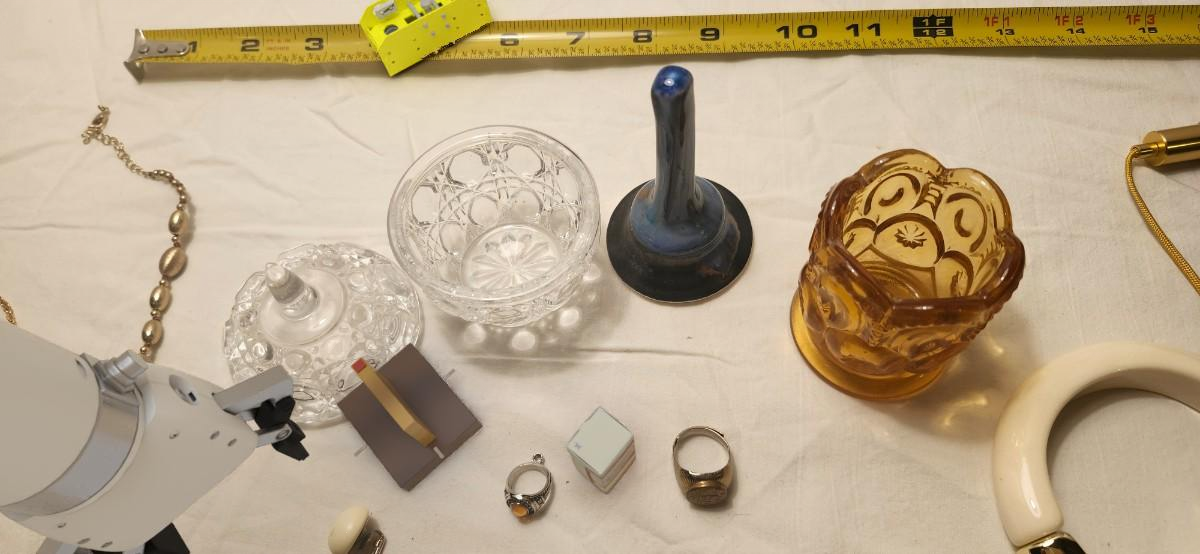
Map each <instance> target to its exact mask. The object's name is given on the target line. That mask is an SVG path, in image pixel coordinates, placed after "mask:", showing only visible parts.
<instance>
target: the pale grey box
mask: <svg viewBox="0 0 1200 554" xmlns="http://www.w3.org/2000/svg"><path fill="white" fill-rule="evenodd" d="M565 448H566V449H567V452H568V455H569V456H570V458H571V461H572V463H573V465H574V467H575V469H576V470H577V471H578V472H579V473H580V474H581V475H582V476H583V477H584V478H585V479H586V480H588V482H590V483H591V484H592V485H593V486H595V487H596V488H597V489H598V490H599V491H601V492H602V493H603V494H605V495H608V494H609V493H610V492H611V491H612V490H613V488H614V487H615V486H616V485H617V484H618V482H619V481H621V479H622V478H623V476H624V475H625V474H626V473H627V471H628V470H629V469H630V467H631V466H632V465H633V464H634V462H635V460H636V458H637V454H636V446H635V436H634V433H633V432H632V430H630V429H629V428H628V427H627V426H626V425H625V424H624V423H622V422H621V421H620V420H619V419H618V418H617V417H615V416H614V415H613V414H612V413H611V412H610V411H608V410H607V409H606V408H605V407H603V406H602V405H598V406H597V407H596V408H595V409H594V411H592V412H591V414H590V415H589V416H588V417H587V418H586V419H585V421H584V422H583V423H582V424H581V425H580V426H579V428H578V429H577V430H576V431H575V433H574V434H573V435H572V437H570V439H569V440H568V442H567V443H565Z"/></svg>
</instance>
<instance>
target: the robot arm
mask: <svg viewBox="0 0 1200 554" xmlns="http://www.w3.org/2000/svg"><path fill="white" fill-rule="evenodd" d="M294 389H295V388H294V379H293V378H292V376H291V375H290V374H289V373H288V371H287V369H286V368H285V367H284V366H283V365H281V364H279V365H276V366H273V367H270V368H269V369H267V370H264V371H262V372H260V373H257V374H256V375H254V376H251V377H249V378H247V379H245V380H243V381H241V382H239V383H236V384H234V385H232V386H230V387H228V388H226V389H225V388H224V387H222V386H220V385H217V384H215V383H213V382H211V381H208V380H207V379H205V378H201V377H199V376H196V375H193V374H191V373H187V372H185V371H182V370H179V369H176V368H173V367H169V366H165V365H162V364H157V363H153V362H149V361H148V362H147V361H145V360H144V358H143V357H142V356H141V355H140V354H139V353H138V352H136V351H135V350H133V349H130V348H128V349H127V350H125V351H124V352H122V353H121V354H120V355H119V356H117V357H116V356H113V357H112V358H110V359H99V358H97V357H94V356H92V355H90V354H88V353H86V352H82V353H81V354H78V353H76V352H75V351H72V350H70V349H68V348H65V347H63V346H61V345H59V344H57V343H55V342H52V341H50V340H48V339H46V338H44V337H42V336H39V335H37V334H35V333H33V332H31V331H29V330H27V329H24V328H22V327H20V326H18V325H16V324H13V323H12V322H9V321H7V320H5V319H2V318H0V514H2V515H3V516H4V517H5V518H7V519H9V520H11V521H13V522H14V523H16V524H17V525H20V526H21V527H24V528H26V529H27V530H30V531H31V532H34V533H36V534H38V535H40V536H42V537H43V536H44V537H45V538H44V540H43V542H42V543H41V545H40V546H39V548H38V549H37V550H36V552H35V554H191V550H190V548H189V547H188V545H187V543H186V542H185V540H184V538H183V537H182V535H181V534H180V532H179V531H178V529H177V528H176V526H175V524H174V521H176V520H177V518H179V517H180V516H181V515H182V514H184V513H185V512H186V511H187V510H189V509H190V508H192V506H193V505H195V504H196V503H198V502H199V501H200V500H201V499H202V498H203V497H204V496H206V495H207V494H208V493H209V492H210V491H212V490H213V489H214V488H215V487H216V486H217V485H219V484H220V483H222V481H224V480H225V479H226V478H227V477H228V476H230V475H231V474H232V473H233V472H235V470H237V469H238V468H239V467H240V466H241V465H242V464H243V463H245V462H246V461H247V460H248V459H249V458H250V456H251V455H252V454H253V453H254V452H255V450H256V449H259V448H261V447H262V448H263V447H265V446H269V445H271V447H272V449H274V450H275V452H278V453H280V454H282V455H285V456H287V457H289V458H291V459H293V460H296V461H298V462H301V461H305V460H306V459H307V458H309V457H310V453H309V452H308V450H307V449H306V448H305V446H304V445H303V444H302V441H303V440H304V439H305V438H306V436H307V435H306V434H305V432H304V431H303V430H302V429H301V427H300V426H299V425H298V424H297V423H296V422H295V421H294V420H292V419H291V417H292V414H293V411H294V409H295V407H296V404H297V403H296V400H295V399H294V392H295V391H294ZM251 421H254V422H255V424H256V426H257V427H258V428H259V429H255V430H254V429H252V426H250V424H248V423H247V422H251Z"/></svg>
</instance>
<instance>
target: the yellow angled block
mask: <svg viewBox="0 0 1200 554" xmlns="http://www.w3.org/2000/svg"><path fill="white" fill-rule="evenodd" d="M350 368H351V369H352V370H353V372H354V373H355V374H356V375H357V376H358V377H359V379H360V380H361V381H362V382H364V383H365V385H366V386H367V387H368V388H369V390H370V391H371V392H372V393H373V394H374V396H375V397H376V398H377V399H378V400H379V402H380V403H381V404H382V405H383V406H384V408H385V409H386V410H387V411H388V413H389V414H390V415H391V416H392V417H393V419H394V420H395V421H396V422H397V423H398V425H399V426H400V427H401V428H402V429H403V431H405V432H406V433H407V434H409V435H410V436H412V437H413V438H414V439H416V440H417V441H418V442H420V443H421V444H423V445H424V446H425V447H426V446H427V445H429V444H430V443H431V442H432V441H433V440H434V439H435V438H436V436H435V435H434V434H433V433H432V432H431V431H430V429H429V428H428V427H427V426H426V425H425V423H424V422H423V421H422V420H421V419H420V418H419V416H418V415H417V414H416V413H415V412H414V410H413V409H412V408H411V407H410V406H409V405H408V403H407V402H406V401H405V400H404V399H403V397H402V396H401V395H400V394H399V393H398V392H397V390H396V389H395V388H394V387H393V386H392V384H391V383H390V382H389V381H388V380H387V379H386V378H385V377H384V376H383V375H382V374H381V373H380V372H378V371H377V370H378V369H377V368H375V367H374V366H373V365H372V364H371V363H369V361H367V360H366V359H365V358H364V357H362V356H361V357H359V359H357V360H355V362H353V363H352V364H351V365H350Z"/></svg>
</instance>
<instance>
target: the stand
mask: <svg viewBox="0 0 1200 554" xmlns="http://www.w3.org/2000/svg"><path fill="white" fill-rule="evenodd" d="M376 370H377V371H378V372H380V373H381V374H382V375H383V376H384V377H385V378H386V379H387V380H388V381H389V382H390V383H391V384H392V386H393V387H394V388H395V389H396V390H397V392H398V393H399V394H400V395H401V396H402V397H403V399H404V400H405V401H406V402H407V403H408V405H409V406H410V407H411V408H412V409H413V410H414V412H415V413H416V414H417V415H418V416H419V418H420V419H421V420H422V421H423V422H424V423H425V425H426V426H427V427H428V428H429V429H430V431H431V432H432V433H433V434H434V435H435V436H436V438H435V439H434V440H433V441H432V442H431V443H430V444H429V445H427V446H426V447H425V446H424V445H423V444H421V443H420V442H418V441H417V440H416V439H414V438H413V437H412V436H410V435H409V434H407V433H406V432H405V431H403V429H402V428H401V427H400V426H399V425H398V423H397V422H396V421H395V420H394V419H393V417H392V416H391V415H390V414H389V413H388V411H387V410H386V409H385V408H384V406H383V405H382V404H381V403H380V402H379V400H378V399H377V398H376V397H375V396H374V394H373V393H372V392H371V391H370V390H369V388H368V387H367V386H366V385H365V383H364V382H363V381H362V382H361V383H360V384H358V385H357V386H356V387H355V388H354V389H353V390H351V391H350V392H349V393H348V394H347V395H346V396H344V397H343V398H342V399H341V400H339V401H338V402H337V403H336V406H337V408H338V409H339V410H340V411H341V413H342V414H343V415H344V416H345V418H346V419H347V420H348V422H349V423H350V424H351V426H352V427H353V428H354V430H355V431H356V432H357V433H358V435H359V436H360V437H361V438H362V440H363V442H364V443H365V444H363V445H362V446H361V447H360V448H359V449H357V450H356V451H355V452H354V453H353V456H354V457H356V458H357V456H359V455H360V454H361V453H362V452H363V451H364V450H365V449H367V447H368V448H369V449H370V450H371V452H372V453H373V454H374V455H375V457H376V458H377V459H378V461H379V462H380V464H381V465H382V466H383V468H384V469H386V471H387V472H388V474H389V475H390V476H391V478H392V479H393V480H394V481H395V483H396V484H397V485H398V486H399V488H400V489H402V490H404V491H406V492H407V493H408V492H411V490H413V489H414V488H415V487H416V486H417V485H418V484H420V482H422V481H423V480H424V479H425V478H426V477H428V475H429V474H431V473H432V472H433V471H434V470H435V469H436V468H438V466H440V465H441V464H442V463H443V462H444V461H445V460H446V459H448V458H449V457H450V456H451V455H452V454H453V453H454V452H455V451H457V450H458V449H459V448H460V447H461V446H462V445H463V444H465V443H466V442H467V441H468V440H469V439H470V438H471V437H472V436H473V435H474V434H476V433H477V432H478V431H479V430H480V429H481V428H483V424H482V423H481V421H480V420H479V419H478V418H477V417H476V416H475V415H474V413H472V411H471V410H470V409H469V408H468V406H467V405H466V404H465V403H464V401H463V400H461V398H460V397H459V396H458V395H457V394H456V392H454V390H453V389H452V388H451V387H450V386H449V385H448V383H447V382H446V380H447V379H448V378H449V377H451V376H452V375H453V374H454V373H455V372H456V369H454V368H452V369H450V371H448V372H447V373H446V374H445V375H444V376H441V375H440V374H439V373H438V372H437V370H436V369H435V368H434V367H433V366H432V365H431V364H430V363H429V361H428V360H427V359H426V358H425V357H424V355H423V354H422V353H421V351H419V350H418V349H417V348H416V347H415V345H414V344H413V343H412V342H409V343H407V345H406V346H404V347H403V348H402V349H400V350H399V351H398V352H397V353H396V354H395V355H393V356H392V357H391V358H390V359H389V360H387V361H386V362H385V363H384V364H383V365H381V366H380V367H379V368H378V369H376Z"/></svg>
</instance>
